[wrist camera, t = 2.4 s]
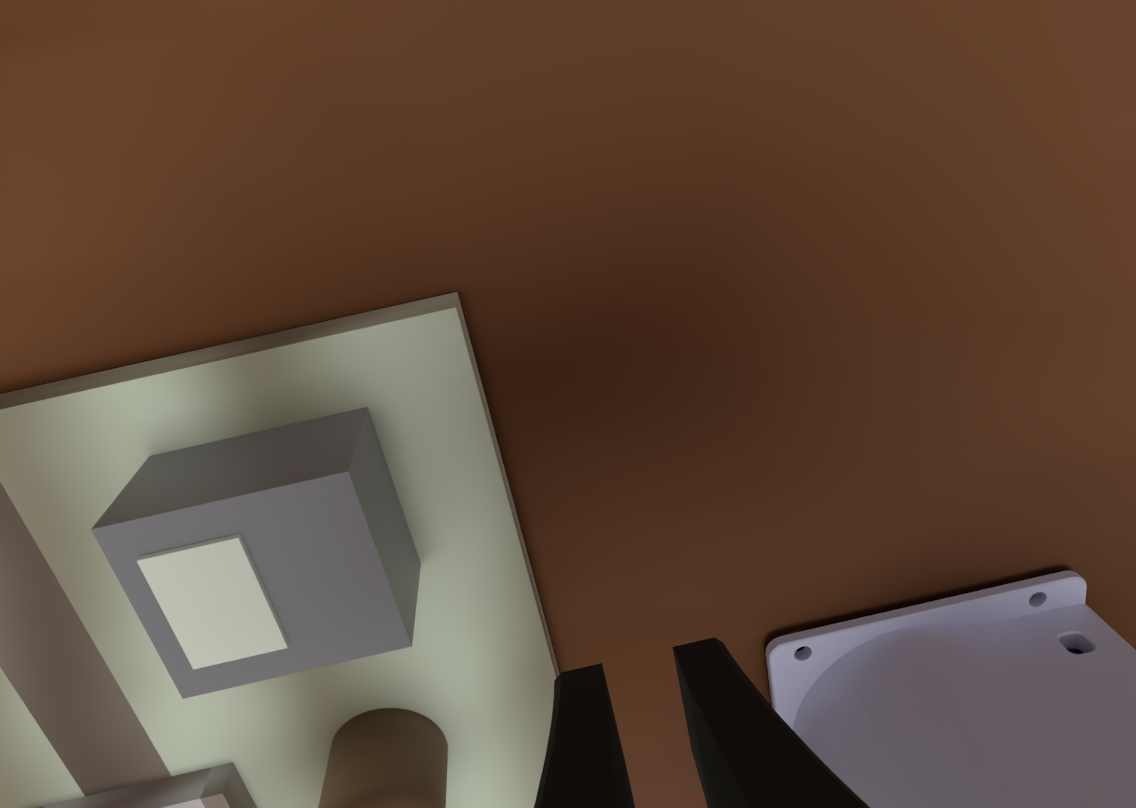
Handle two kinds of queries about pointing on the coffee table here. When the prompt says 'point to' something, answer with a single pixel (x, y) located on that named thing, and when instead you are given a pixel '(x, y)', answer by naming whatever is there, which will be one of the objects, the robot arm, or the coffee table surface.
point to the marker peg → (387, 762)
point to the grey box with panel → (266, 553)
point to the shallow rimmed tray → (292, 702)
